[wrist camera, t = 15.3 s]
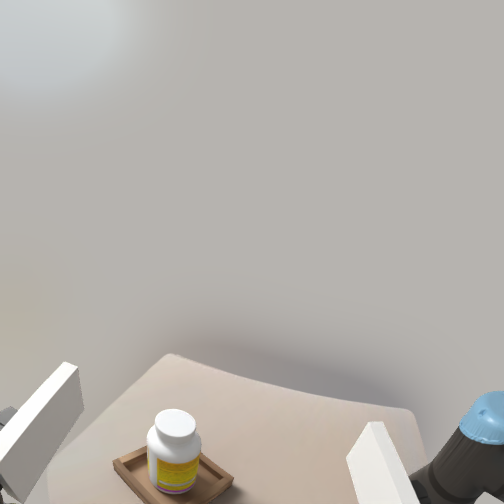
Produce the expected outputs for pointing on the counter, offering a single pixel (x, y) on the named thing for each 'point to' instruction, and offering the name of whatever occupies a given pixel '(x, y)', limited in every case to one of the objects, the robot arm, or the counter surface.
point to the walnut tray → (195, 500)
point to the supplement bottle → (173, 452)
